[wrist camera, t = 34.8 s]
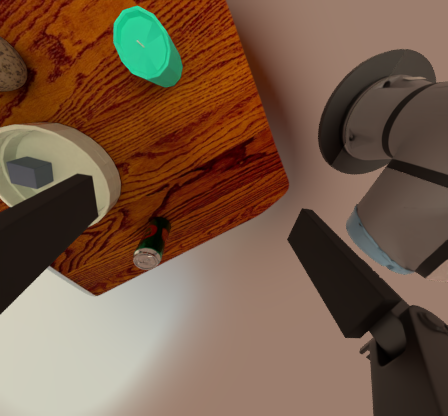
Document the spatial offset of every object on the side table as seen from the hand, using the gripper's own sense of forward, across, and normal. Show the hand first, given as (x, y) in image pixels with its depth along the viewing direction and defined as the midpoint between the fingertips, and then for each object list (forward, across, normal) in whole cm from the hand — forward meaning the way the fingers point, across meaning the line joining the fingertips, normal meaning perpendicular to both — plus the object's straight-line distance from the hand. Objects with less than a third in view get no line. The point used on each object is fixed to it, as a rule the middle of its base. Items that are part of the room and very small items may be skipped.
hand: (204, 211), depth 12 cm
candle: (+27, -9, +10) cm, 30 cm away
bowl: (+27, -26, -12) cm, 39 cm away
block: (+26, -31, -11) cm, 42 cm away
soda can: (+27, -8, -21) cm, 35 cm away
